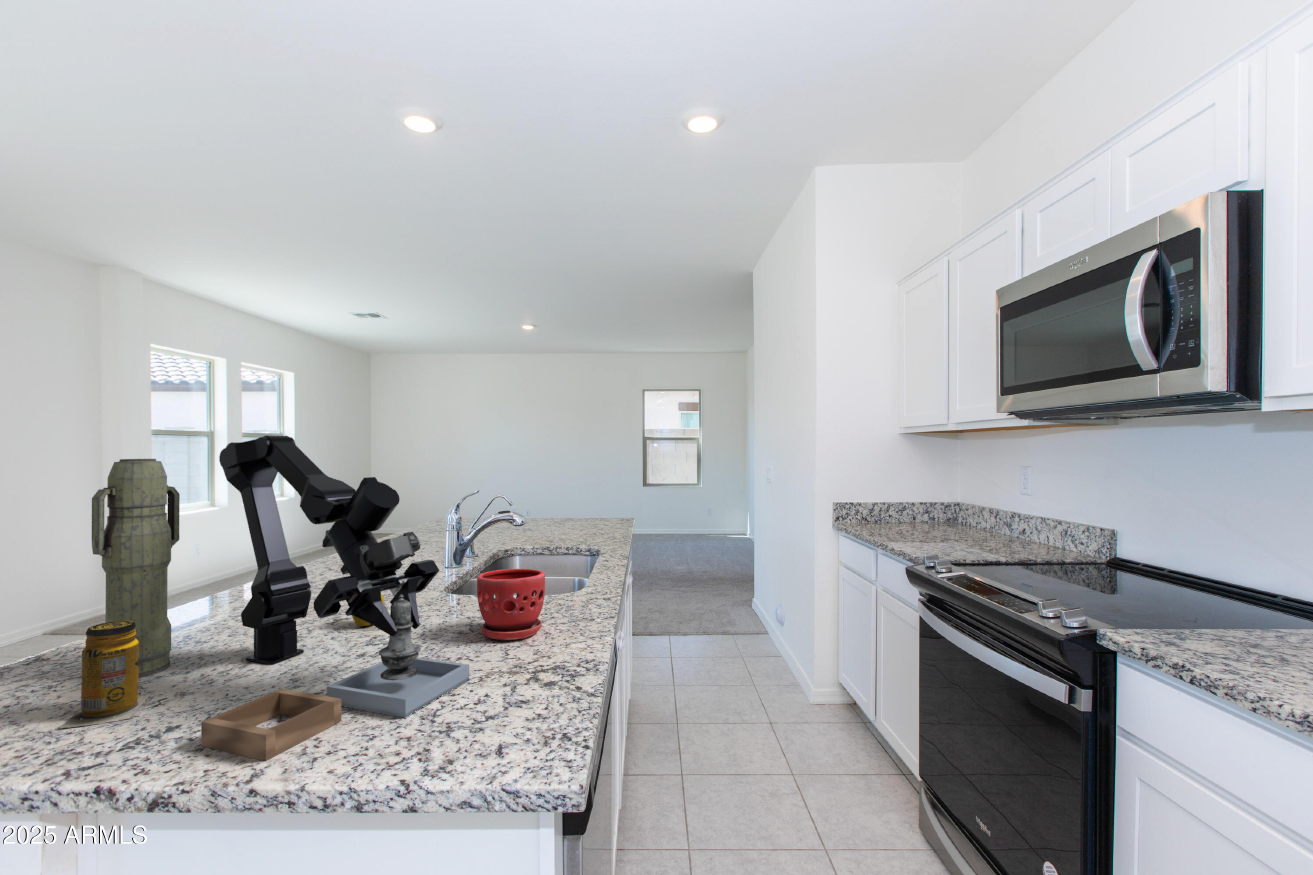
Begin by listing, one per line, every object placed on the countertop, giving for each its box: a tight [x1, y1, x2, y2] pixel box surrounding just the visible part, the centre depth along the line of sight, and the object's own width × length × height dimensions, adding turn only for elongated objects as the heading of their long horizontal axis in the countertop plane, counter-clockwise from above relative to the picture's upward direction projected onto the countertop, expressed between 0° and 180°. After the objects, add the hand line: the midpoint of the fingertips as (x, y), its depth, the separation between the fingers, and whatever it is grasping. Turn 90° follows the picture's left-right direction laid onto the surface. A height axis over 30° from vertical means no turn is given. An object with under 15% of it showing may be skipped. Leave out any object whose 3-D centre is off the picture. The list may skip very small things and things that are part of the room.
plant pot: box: [476, 568, 546, 641], centre depth 121 cm, size 13×13×12 cm
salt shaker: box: [378, 594, 422, 680], centre depth 92 cm, size 6×6×12 cm
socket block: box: [200, 688, 342, 762], centre depth 79 cm, size 11×11×3 cm
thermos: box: [91, 458, 181, 678], centre depth 102 cm, size 9×12×35 cm
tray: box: [326, 656, 470, 718], centre depth 92 cm, size 14×14×2 cm
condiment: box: [59, 620, 150, 729], centre depth 85 cm, size 7×8×12 cm
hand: (406, 630), depth 92 cm, fingers closed on salt shaker, 4 cm apart
